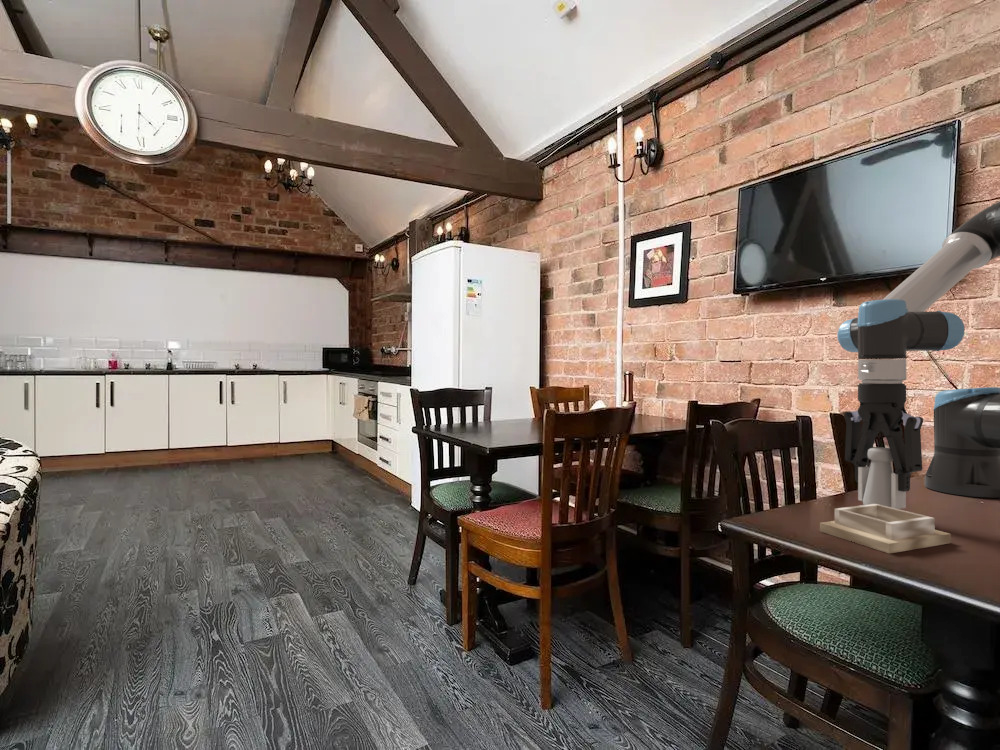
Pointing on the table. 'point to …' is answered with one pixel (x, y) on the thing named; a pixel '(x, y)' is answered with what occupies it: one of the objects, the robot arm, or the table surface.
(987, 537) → the table surface
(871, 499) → the salt shaker
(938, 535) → the tray
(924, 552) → the table surface
